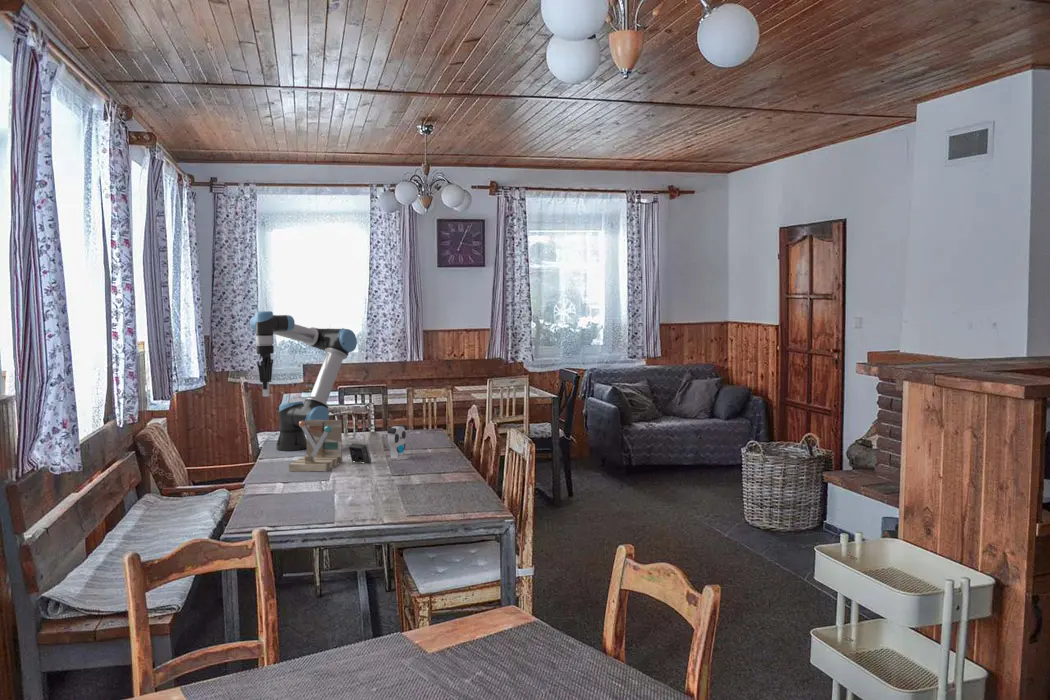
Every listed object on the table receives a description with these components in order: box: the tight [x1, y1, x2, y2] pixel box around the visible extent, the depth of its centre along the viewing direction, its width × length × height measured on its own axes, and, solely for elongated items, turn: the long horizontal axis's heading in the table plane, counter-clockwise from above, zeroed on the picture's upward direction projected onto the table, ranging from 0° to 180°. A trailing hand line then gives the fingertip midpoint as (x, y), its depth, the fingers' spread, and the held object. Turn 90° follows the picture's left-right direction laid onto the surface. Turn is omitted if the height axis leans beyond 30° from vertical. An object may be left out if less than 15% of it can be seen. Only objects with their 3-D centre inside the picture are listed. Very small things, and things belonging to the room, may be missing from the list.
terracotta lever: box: [299, 421, 321, 451], centre depth 370 cm, size 3×3×17 cm
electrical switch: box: [348, 441, 372, 464], centre depth 371 cm, size 9×5×9 cm, turn 57°
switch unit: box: [288, 419, 343, 472], centre depth 363 cm, size 23×16×19 cm
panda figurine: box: [386, 424, 407, 458], centre depth 381 cm, size 12×11×15 cm
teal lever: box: [310, 426, 332, 461], centre depth 355 cm, size 3×3×17 cm
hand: (266, 396), depth 378 cm, fingers closed
